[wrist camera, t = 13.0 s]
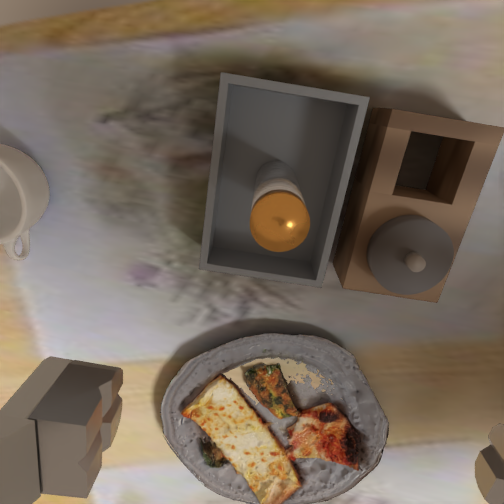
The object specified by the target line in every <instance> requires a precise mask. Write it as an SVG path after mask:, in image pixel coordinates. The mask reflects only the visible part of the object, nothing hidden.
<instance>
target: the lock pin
mask: <svg viewBox="0 0 504 504" xmlns="http://www.w3.org/2000/svg"><path fill="white" fill-rule="evenodd" d="M309 228H310V217H309V213H308V210H307V208H306V205H305V202H304V199H303V196H302V194H301V191H300V188H299V185H298V182H297V180H296V177H295V174H294V171H293V170H292V168H291V167H290V166H289V165H288V164H286V163H284V162H282V161H270V162H268V163H266V164H264V165H263V166H262V167H261V168H260V169H259V171H258V173H257V176H256V181H255V188H254V195H253V201H252V208H251V215H250V231H251V234H252V236H253V238H254V239H255V241H256V242H257V243H258V244H259V245H260V246H262V247H263V248H265V249H267V250H270V251H274V252H284V251H289V250H291V249H294V248H295V247H297V246H298V245H300V244H301V243H302V242H303V241H304V239H305V238H306V236H307V234H308V232H309Z"/></svg>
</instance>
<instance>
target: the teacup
mask: <svg viewBox="0 0 504 504" xmlns="http://www.w3.org/2000/svg"><path fill="white" fill-rule="evenodd" d="M49 197H50V191H49V185H48V181H47V178H46V176H45V174H44V172H43V171H42V169H41V168H40V166H39V165H38V164H37V163H36V162H35V161H34V160H33V159H32V158H31V157H29V156H28V155H26V154H25V153H23V152H22V151H20V150H18V149H16V148H13V147H10V146H7V145H3V144H0V244H3V246H4V249H5V251H6V253H7V254H8V256H9V257H10V258H11V259H13V260H17V261H18V260H23V259H25V258H27V256H28V254H29V250H30V234H29V229H30V227H32V226H33V225H34V224H35V223H37V222H38V220H39V219H40V218H41V217H42V215H43V213H44V212H45V210H46V208H47V206H48V203H49ZM19 236H20V237H21V240H22V244H23V249H22V253H21V255H19V256H18V255H17V254H16V252H15V244H16V241H17V239H18V238H19Z"/></svg>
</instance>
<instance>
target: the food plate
mask: <svg viewBox="0 0 504 504" xmlns="http://www.w3.org/2000/svg"><path fill="white" fill-rule="evenodd" d="M270 357H271V358H273V359H274V358H276V357H279V358H280V359H284V360H285V359H287V358H290V359H293V360H295V361H297V362H298V363H296V364H300V363H301V362H303V363H305V364H307V365H306V368H307V370H308V369H310V370H308V371H312V372H313V373H317V369H318V370H319V371H320V372H318V375H319V374H321V375H322V376H324V377H325V379H324V378H320V379H322V380H321V381H322V382H321V381H320V382H321V383H323V384H324V385H323V386H322V385H321V384H320V386H319V387H318V388H316V389H315V390H314V388H313V387H312V385H311V384H310V383H311V378H309V375H308V374H307V375H306V378H303V377H301V379H302V378H303V379H304V382H305V384H303V383H299V382H297V384H296V383H295V381H292V380H291V381H290V383H289V384H288V385H287V382H286V381H287V380H286V379H285V378H284V376H283V373H282V372H281V369H280V363H278V364H277V365H270V366H267V365H266V364H264V363H263V364H259V365H254V366H253V369H252V368H250V369H248V370H247V372H245V375H246V380H247V382H246V383H247V386H248V387H249V390H251V391H252V393H253V394H255V395H256V396H255V397H256V399H258V401H259V403H258V404H257V405H255V404H256V402H255V401H253V400H252V399H251V398H250V397H249V396H248V395H247V394H246V393H244V391H243V389H242V388H239V387H238V385H236V384H235V383H234V382H233V381H232V380H231V378H230V380H229V379H227V378H226V376H225V375H223V374H222V373H226V372H228V371H229V370H232V369H234V368H236V367H239V366H240V365H244V364H246V363H249V362H252V361H253V360H256V359H264V358H270ZM355 360H356V358H355V357H354V355H353V354H351V353H350V352H349V351H347V350H346V349H344V348H342V347H340V346H339V345H337V344H336V343H333V342H331V341H329V340H327V339H324V338H320V337H317V336H314V335H313V336H312V335H311V336H307V335H301V334H299V335H294V336H293V335H292V336H291V335H290V334H289V335H288V334H287V335H285V334H284V335H283V334H278V333H273V334H271V333H270V334H267V333H266V334H262V335H254V336H249V337H244V338H243V337H242V338H239V339H235V340H233V341H231V342H228V343H225V344H222V345H220V347H219V345H218V347H215V348H213V349H210V350H209V351H206V352H204V353H202V354H200V356H196V357H195V358H192V359H190V360H188V361H187V362H186V363H185V364H184V365H183V366H182V368H181V369H180V370H179V371H178V373H177V375H176V376H174V378H173V380H172V381H171V382H170V384H169V386H168V388H167V389H166V393H165V395H164V397H163V400H162V403H161V404H162V406H161V412H160V413H161V419H162V424H163V433H164V435H165V437H164V438H167V440H168V441H169V443H170V444H171V446H172V447H173V449H174V450H175V451H176V452H177V453H176V452H175V451H174V450H173V449H172V447H171V446H170V444H169V443H168V441H167V440H166V439H165V440H166V441H167V443H168V445H169V446H170V448H171V449H172V450H173V452H174V453H175V454H176V455H177V454H178V455H179V456H178V455H177V457H178V458H179V459H180V460H181V462H183V464H184V465H185V466H186V467H187V468H188V469H189V470H190V471H191V473H192V474H193V475H194V476H195V474H196V476H195V477H196V478H197V479H198V480H199V479H200V480H199V481H200V482H203V483H204V484H203V485H204V486H205V487H207V488H209V489H210V490H212V491H213V492H215V493H217V494H219V495H222V496H224V497H227V498H230V499H233V500H237V501H240V502H241V501H242V502H246V503H249V504H310V503H316V502H323V501H328V500H329V499H330V500H331V499H332V498H334V497H336V496H339V495H341V494H343V493H345V492H347V491H348V490H350V489H351V488H353V487H354V486H355V485H356V484H358V483H359V482H360V481H361V480H362V479H363V478H364V477H365V476H367V475H368V474H369V473H370V472H371V471H373V470H374V469H375V467H376V466H377V465H378V464H379V462H380V460H381V457H382V455H381V453H382V454H383V448H384V446H385V444H386V440H387V438H388V437H387V436H388V431H389V430H388V429H389V428H388V427H389V422H388V419H387V418H386V417H387V416H385V414H384V412H383V410H382V408H381V406H380V405H379V402H378V401H377V399H376V397H375V395H374V393H373V391H372V389H371V388H370V386H369V384H368V381H367V379H366V378H365V376H364V374H363V373H362V371H361V370H359V365H357V364H358V363H356V362H357V361H356V362H355ZM288 363H289V362H287V364H288ZM296 375H298V373H297V374H296ZM318 375H316V377H320V376H318ZM291 376H292V375H291ZM302 376H303V374H302ZM289 378H290V376H289ZM291 378H292V377H291ZM294 378H295V377H294ZM295 379H296V378H295ZM328 379H331V380H332V382H333V383H334V385H332V384H331V381H329V380H328ZM326 381H328V383H327V382H326ZM327 385H328V387H327ZM336 385H337V386H336ZM326 388H327V389H326ZM333 388H335V389H333ZM322 389H325V390H326V391H325V392H321V390H322ZM330 390H331V391H330ZM317 392H318V393H317ZM242 393H243V394H242ZM327 393H328V394H327ZM331 394H333V395H331ZM292 395H293V396H292ZM341 398H342V399H343V400H342V399H341ZM277 422H278V423H277ZM288 435H290V436H289V438H287V436H288ZM193 471H194V473H195V474H194V473H193Z"/></svg>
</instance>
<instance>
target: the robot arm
mask: <svg viewBox="0 0 504 504" xmlns="http://www.w3.org/2000/svg"><path fill="white" fill-rule="evenodd" d="M122 384H123V370H122V369H121V368H118V367H113V366H107V365H101V364H95V363H89V362H83V361H78V360H74V361H73V360H69V359H63V358H57V357H48V358H46V359H44V360H43V361H42V362H41V364H40V365H39V366H38V367H37V368H36V369H35V370H34V372H33V373H32V374H31V375H30V376H29V377H28V379H27V380H26V381H25V382H24V383H23V384H22V385H21V387H20V388H19V389H18V390H17V391H16V392H15V393H14V395H13V396H12V397H11V398H10V399H9V400H8V402H7V403H6V404H5V405H4V406H3V407H2V408H1V410H0V504H32V503H33V502H35V501H36V500H37V499H38V498H39V497H40V496H41V494H50V495H60V496H69V497H79V498H87V497H88V495H89V493H90V490H91V488H92V486H93V484H94V482H95V480H96V477H97V475H98V473H99V471H100V469H101V466H102V452H103V451H105V450H106V449H108V448H109V447H110V446H111V444H112V442H113V439H114V437H115V435H116V432H117V428H118V425H119V422H120V417H121V411H122V398H121V397H120V396H119V394H118V392H119V390H120V388H121V386H122ZM488 438H489V441H490V444H491V445H489V446H488V447H486V448H485V449H483V450H481V451H480V453H479V455H478V457H477V459H476V461H475V478H476V481H477V485H478V488H479V490H480V492H481V493H482V495H483V497H484V499H485V500H486V501H487V502H488V503H489V504H504V424H500V423H499V424H498V425H496V426H495V427H493V428H492V430H491V432H490V433H489V435H488ZM40 493H41V494H40Z"/></svg>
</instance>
